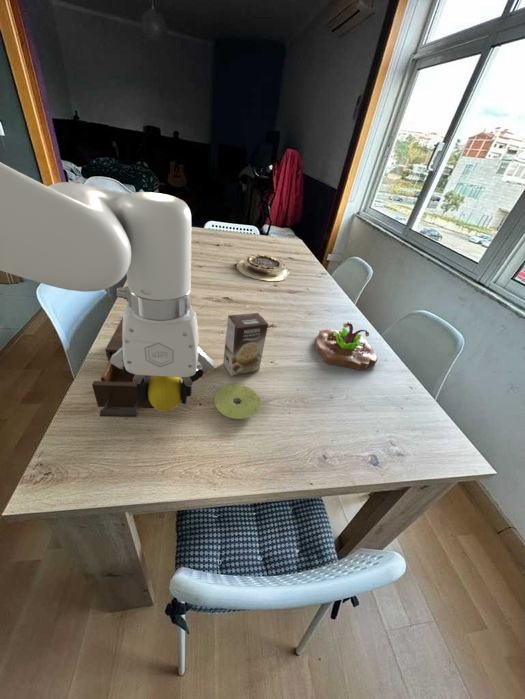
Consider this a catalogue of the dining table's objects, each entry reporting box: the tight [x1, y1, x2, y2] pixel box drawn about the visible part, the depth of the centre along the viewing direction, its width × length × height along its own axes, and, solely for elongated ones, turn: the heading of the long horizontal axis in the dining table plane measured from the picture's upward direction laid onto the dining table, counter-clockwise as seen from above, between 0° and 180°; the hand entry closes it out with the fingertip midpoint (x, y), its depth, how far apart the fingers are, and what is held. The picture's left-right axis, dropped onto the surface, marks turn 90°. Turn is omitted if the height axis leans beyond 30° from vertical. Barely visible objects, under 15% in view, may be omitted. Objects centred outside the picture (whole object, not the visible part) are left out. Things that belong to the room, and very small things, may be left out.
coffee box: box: [222, 312, 269, 377], centre depth 80 cm, size 9×6×16 cm
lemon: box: [148, 376, 182, 412], centre depth 48 cm, size 6×6×8 cm
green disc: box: [213, 384, 261, 420], centre depth 72 cm, size 11×11×2 cm
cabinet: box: [104, 317, 123, 363], centre depth 79 cm, size 16×14×9 cm
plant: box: [314, 321, 378, 371], centre depth 96 cm, size 20×20×11 cm
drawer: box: [91, 353, 155, 418], centre depth 68 cm, size 20×13×7 cm, turn 6°
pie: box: [236, 253, 292, 282], centre depth 147 cm, size 28×27×5 cm
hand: (165, 396), depth 49 cm, fingers closed on lemon, 5 cm apart
